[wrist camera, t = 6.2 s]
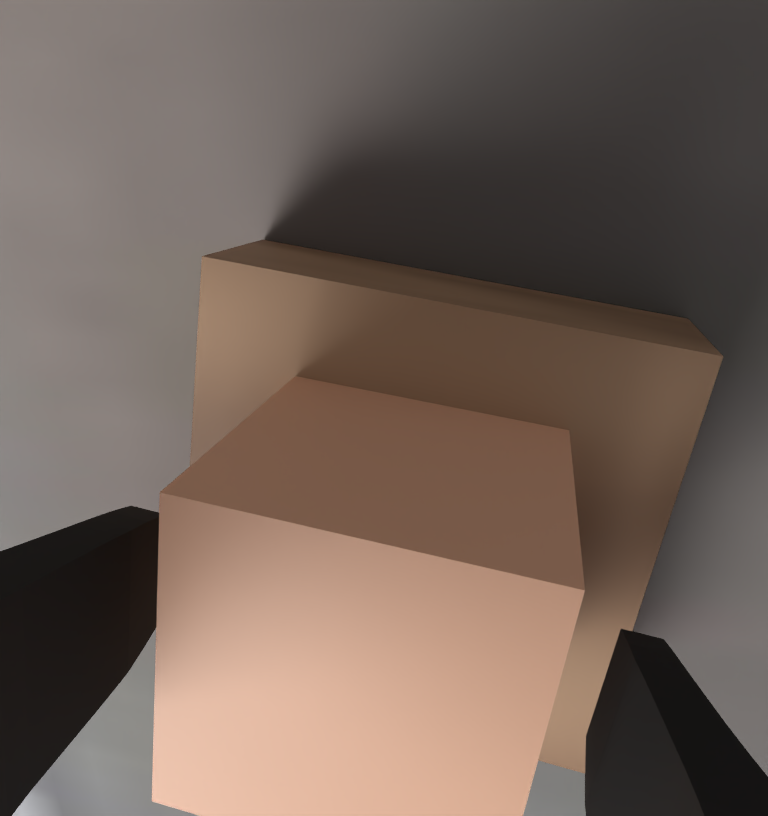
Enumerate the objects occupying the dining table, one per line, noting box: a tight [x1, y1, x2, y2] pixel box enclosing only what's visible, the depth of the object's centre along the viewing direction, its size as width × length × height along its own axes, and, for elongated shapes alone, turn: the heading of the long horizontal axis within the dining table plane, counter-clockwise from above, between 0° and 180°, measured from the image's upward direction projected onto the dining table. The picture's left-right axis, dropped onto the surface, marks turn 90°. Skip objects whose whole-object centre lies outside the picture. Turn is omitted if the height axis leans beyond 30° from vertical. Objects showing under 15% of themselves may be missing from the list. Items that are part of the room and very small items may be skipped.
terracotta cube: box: [152, 376, 585, 816], centre depth 11 cm, size 5×5×5 cm
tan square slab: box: [190, 240, 723, 773], centre depth 15 cm, size 9×9×3 cm
